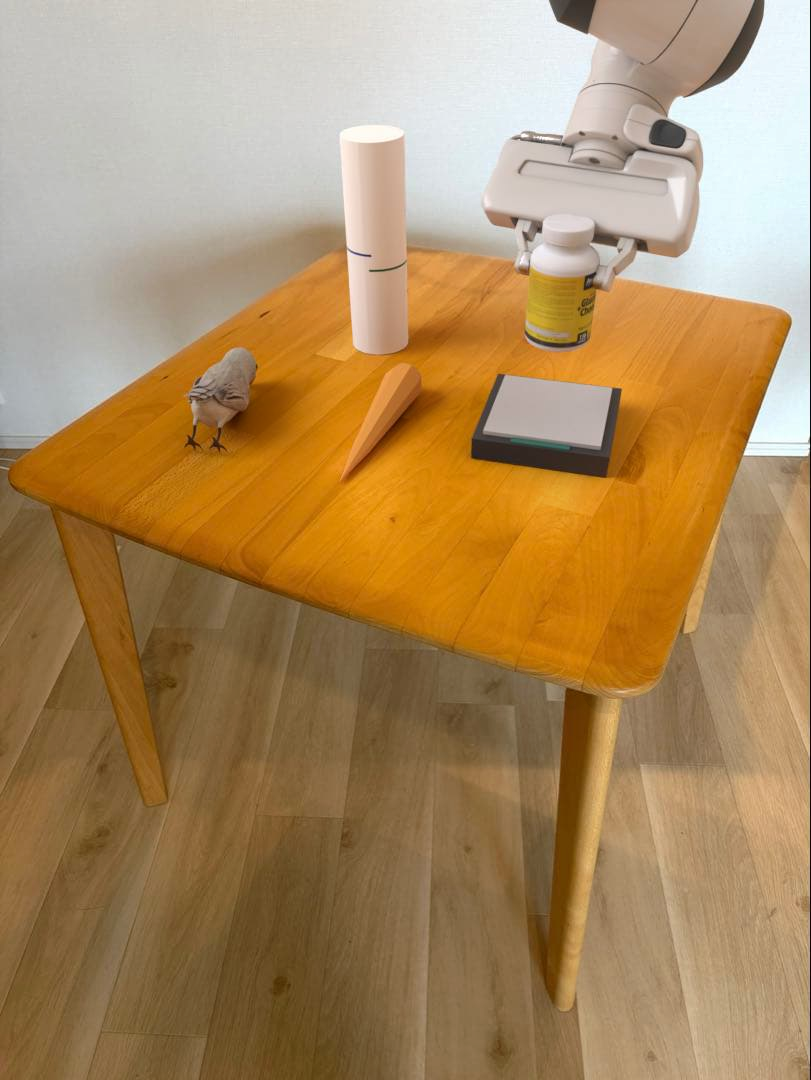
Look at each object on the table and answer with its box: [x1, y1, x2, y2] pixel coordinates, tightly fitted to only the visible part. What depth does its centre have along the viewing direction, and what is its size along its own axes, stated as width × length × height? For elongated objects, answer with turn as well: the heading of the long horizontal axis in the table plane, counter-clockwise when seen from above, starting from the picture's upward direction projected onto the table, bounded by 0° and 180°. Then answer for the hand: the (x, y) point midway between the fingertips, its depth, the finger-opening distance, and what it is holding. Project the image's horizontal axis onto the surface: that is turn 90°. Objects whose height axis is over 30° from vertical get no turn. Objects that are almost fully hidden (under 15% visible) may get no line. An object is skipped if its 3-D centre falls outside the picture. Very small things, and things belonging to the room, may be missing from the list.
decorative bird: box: [182, 346, 259, 454], centre depth 94 cm, size 5×16×8 cm, turn 170°
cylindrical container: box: [339, 124, 409, 356], centre depth 102 cm, size 7×7×25 cm
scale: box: [470, 373, 623, 478], centre depth 92 cm, size 14×14×3 cm
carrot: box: [338, 362, 423, 484], centre depth 92 cm, size 20×4×4 cm, turn 159°
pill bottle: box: [524, 214, 601, 353], centre depth 81 cm, size 6×6×12 cm
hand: (561, 280), depth 80 cm, fingers closed on pill bottle, 6 cm apart
